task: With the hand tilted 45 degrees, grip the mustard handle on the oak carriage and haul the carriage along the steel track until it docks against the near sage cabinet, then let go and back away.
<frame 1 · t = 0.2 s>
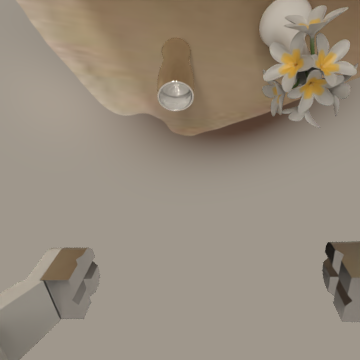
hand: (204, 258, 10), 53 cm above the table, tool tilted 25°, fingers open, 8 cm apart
beer glass: (176, 51, 60), on the table
flower vase: (278, 12, 54), on the table
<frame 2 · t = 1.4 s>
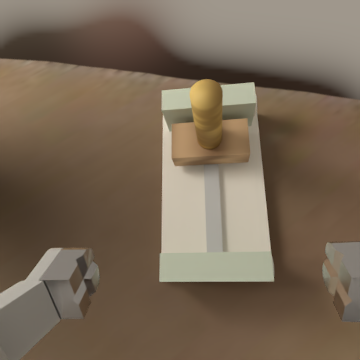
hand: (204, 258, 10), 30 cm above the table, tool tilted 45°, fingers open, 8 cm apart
track: (212, 191, 41), on the table
carriage: (208, 125, 34), point 10 cm above the table, slide at 5.5 cm
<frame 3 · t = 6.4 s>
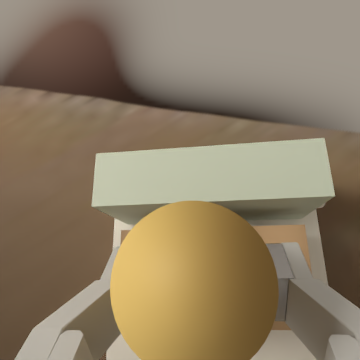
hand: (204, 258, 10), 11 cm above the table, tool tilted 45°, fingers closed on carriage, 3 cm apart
carriage: (207, 276, 12), point 10 cm above the table, slide at 5.5 cm, touching gripper
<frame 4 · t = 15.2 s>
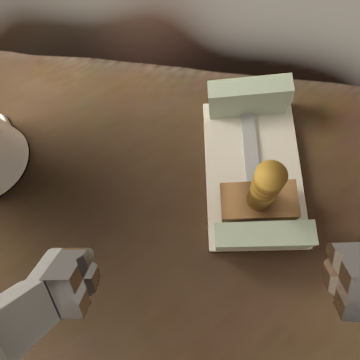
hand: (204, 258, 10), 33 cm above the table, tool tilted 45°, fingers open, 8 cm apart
track: (250, 172, 45), on the table
carriage: (262, 192, 34), point 10 cm above the table, slide at -5.8 cm
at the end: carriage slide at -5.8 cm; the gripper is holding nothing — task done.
